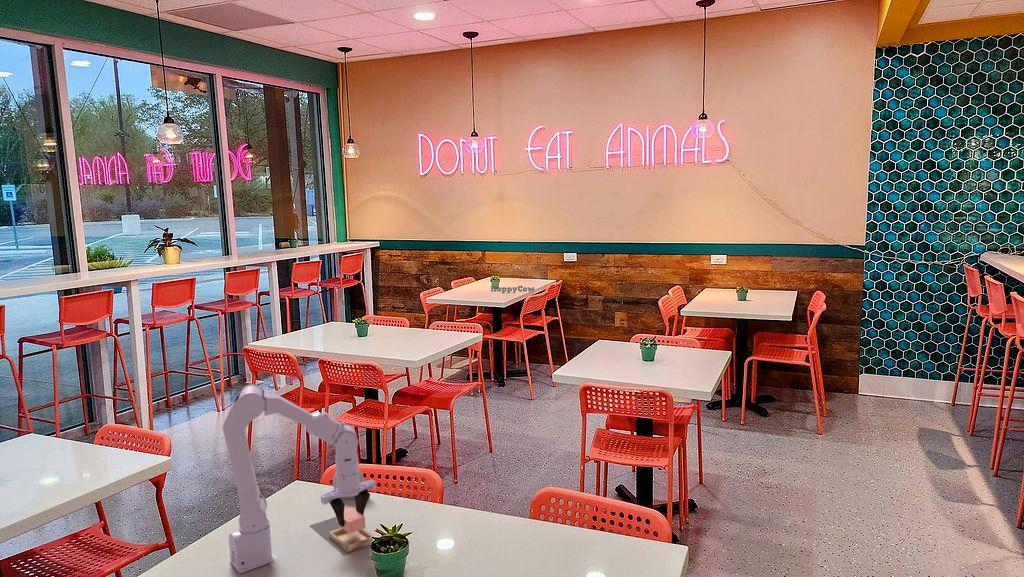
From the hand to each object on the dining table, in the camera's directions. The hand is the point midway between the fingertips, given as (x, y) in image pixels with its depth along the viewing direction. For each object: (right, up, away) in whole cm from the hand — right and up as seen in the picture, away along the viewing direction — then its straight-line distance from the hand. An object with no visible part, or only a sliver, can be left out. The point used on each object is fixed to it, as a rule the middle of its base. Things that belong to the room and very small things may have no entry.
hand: (350, 522), depth 176 cm
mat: (-3, -5, +5) cm, 8 cm away
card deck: (0, -1, 0) cm, 1 cm away
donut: (-7, -3, +28) cm, 29 cm away
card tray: (0, -5, +1) cm, 5 cm away
